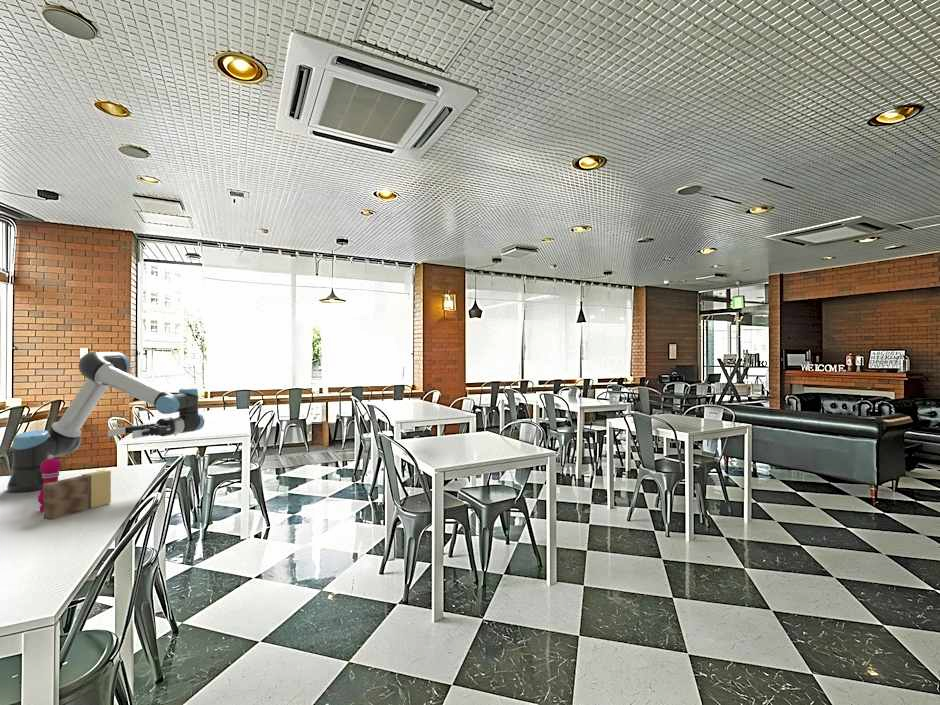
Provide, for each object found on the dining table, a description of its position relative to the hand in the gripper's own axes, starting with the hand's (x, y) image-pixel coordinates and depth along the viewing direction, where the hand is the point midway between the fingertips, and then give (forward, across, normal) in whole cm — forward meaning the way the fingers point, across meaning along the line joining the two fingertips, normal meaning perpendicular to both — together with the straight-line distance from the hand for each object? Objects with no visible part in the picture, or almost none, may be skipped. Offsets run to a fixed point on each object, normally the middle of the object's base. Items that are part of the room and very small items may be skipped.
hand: (120, 434), depth 202 cm
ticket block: (+20, 0, -25) cm, 32 cm away
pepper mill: (+18, +11, -26) cm, 33 cm away
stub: (+10, 0, -25) cm, 27 cm away
